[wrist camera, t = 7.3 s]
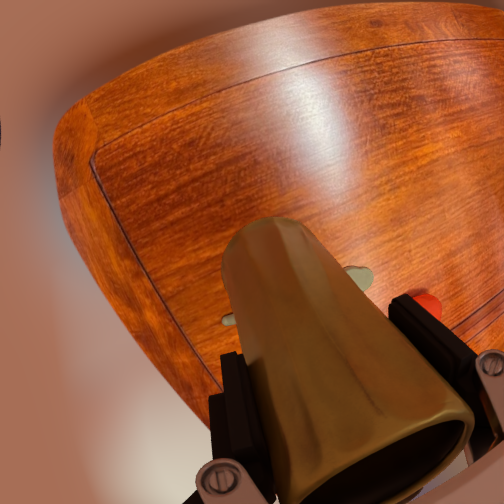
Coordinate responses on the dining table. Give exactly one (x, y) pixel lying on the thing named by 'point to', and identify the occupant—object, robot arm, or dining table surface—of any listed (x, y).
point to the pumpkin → (430, 304)
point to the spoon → (359, 275)
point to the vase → (334, 376)
